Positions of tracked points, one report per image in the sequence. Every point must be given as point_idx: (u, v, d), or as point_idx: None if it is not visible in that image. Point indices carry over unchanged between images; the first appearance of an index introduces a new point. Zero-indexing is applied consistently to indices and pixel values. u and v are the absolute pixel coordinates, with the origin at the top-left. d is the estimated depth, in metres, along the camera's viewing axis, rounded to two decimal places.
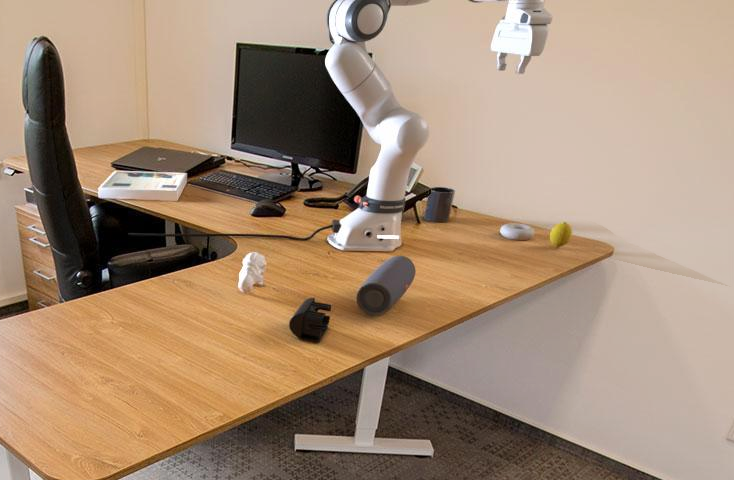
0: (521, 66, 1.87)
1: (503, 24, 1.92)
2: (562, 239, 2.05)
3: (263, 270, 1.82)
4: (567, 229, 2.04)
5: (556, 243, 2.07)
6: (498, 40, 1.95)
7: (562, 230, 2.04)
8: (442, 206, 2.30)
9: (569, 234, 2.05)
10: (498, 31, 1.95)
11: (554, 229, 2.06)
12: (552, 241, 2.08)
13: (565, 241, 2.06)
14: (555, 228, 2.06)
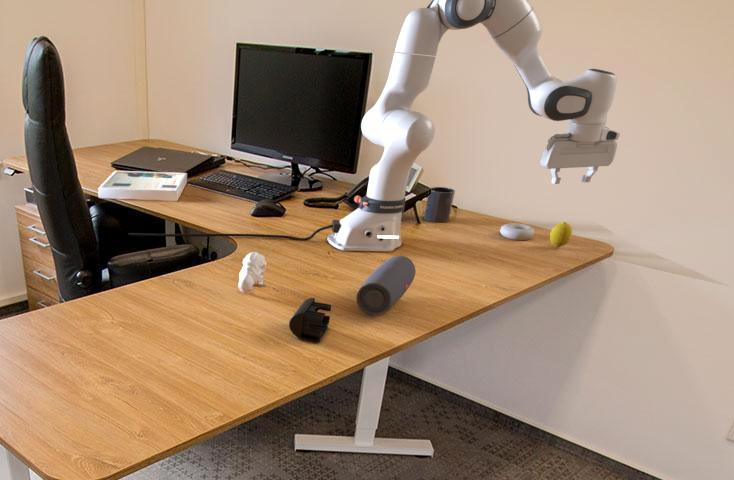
0: None
1: (567, 143, 1.92)
2: (562, 239, 2.05)
3: (263, 270, 1.82)
4: (567, 229, 2.04)
5: (556, 243, 2.07)
6: (560, 157, 1.94)
7: (562, 230, 2.04)
8: (442, 206, 2.30)
9: (569, 234, 2.05)
10: (559, 150, 1.93)
11: (554, 229, 2.06)
12: (552, 241, 2.08)
13: (565, 241, 2.06)
14: (555, 228, 2.06)
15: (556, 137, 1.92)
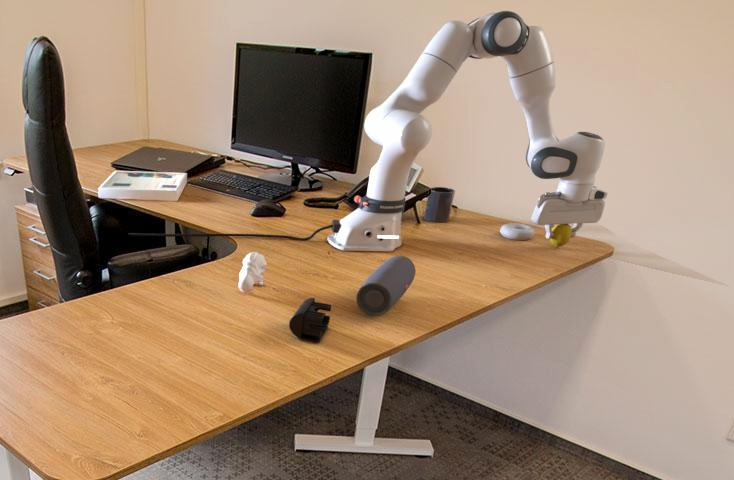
0: None
1: (556, 201, 2.00)
2: (562, 239, 2.05)
3: (263, 270, 1.82)
4: (567, 229, 2.04)
5: (556, 243, 2.07)
6: (550, 214, 2.02)
7: (562, 230, 2.04)
8: (442, 206, 2.30)
9: (569, 234, 2.05)
10: (549, 208, 2.01)
11: (554, 229, 2.06)
12: (552, 241, 2.08)
13: (565, 241, 2.06)
14: (555, 228, 2.06)
15: (546, 195, 2.00)
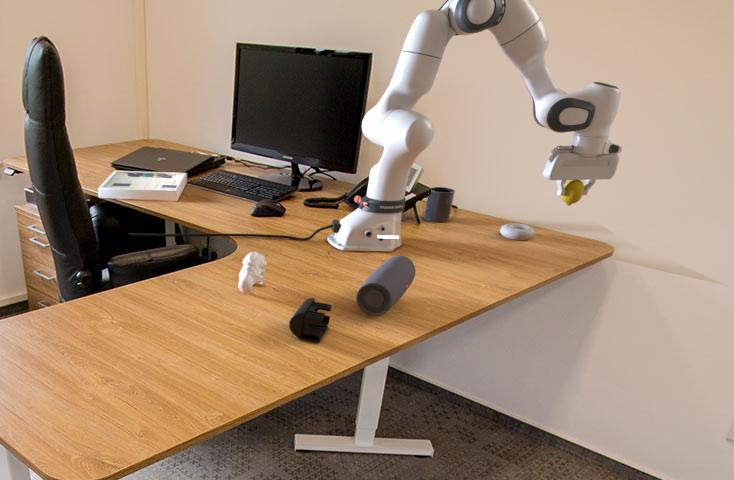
0: None
1: (569, 155, 1.93)
2: (574, 195, 1.99)
3: (263, 270, 1.82)
4: (579, 186, 1.98)
5: (568, 200, 2.00)
6: (562, 169, 1.95)
7: (574, 187, 1.98)
8: (442, 206, 2.30)
9: (581, 191, 1.98)
10: (561, 162, 1.94)
11: (566, 186, 2.00)
12: (564, 198, 2.01)
13: (577, 198, 1.99)
14: (567, 184, 1.99)
15: (559, 149, 1.93)
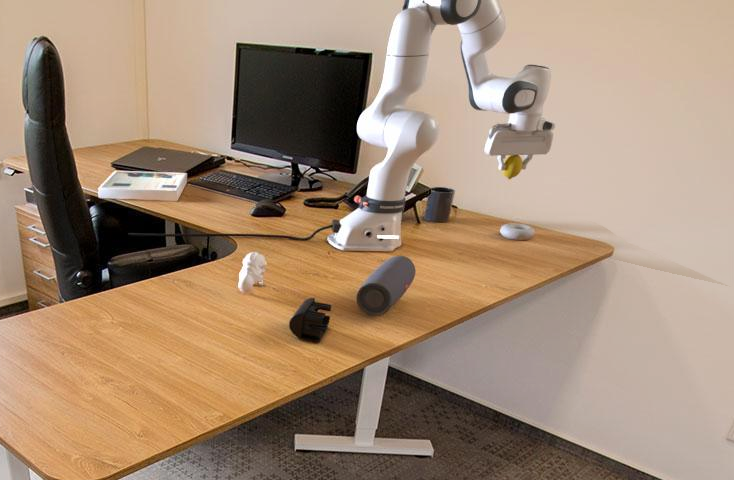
0: None
1: (507, 132, 2.10)
2: (513, 169, 2.16)
3: (263, 270, 1.82)
4: (518, 160, 2.15)
5: (508, 174, 2.17)
6: (501, 145, 2.12)
7: (513, 161, 2.15)
8: (442, 206, 2.30)
9: (520, 165, 2.15)
10: (500, 138, 2.11)
11: (506, 161, 2.17)
12: (504, 172, 2.18)
13: (516, 172, 2.16)
14: (507, 160, 2.16)
15: (497, 126, 2.10)
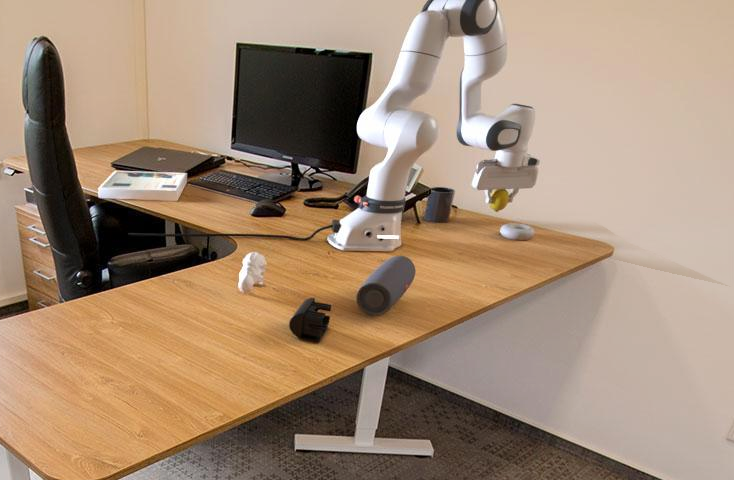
0: None
1: (493, 167, 2.17)
2: (500, 203, 2.23)
3: (263, 270, 1.82)
4: (504, 194, 2.22)
5: (495, 207, 2.25)
6: (488, 180, 2.19)
7: (500, 195, 2.22)
8: (442, 206, 2.30)
9: (506, 199, 2.22)
10: (486, 174, 2.18)
11: (493, 194, 2.24)
12: (491, 205, 2.25)
13: (503, 205, 2.23)
14: (494, 193, 2.24)
15: (484, 162, 2.18)
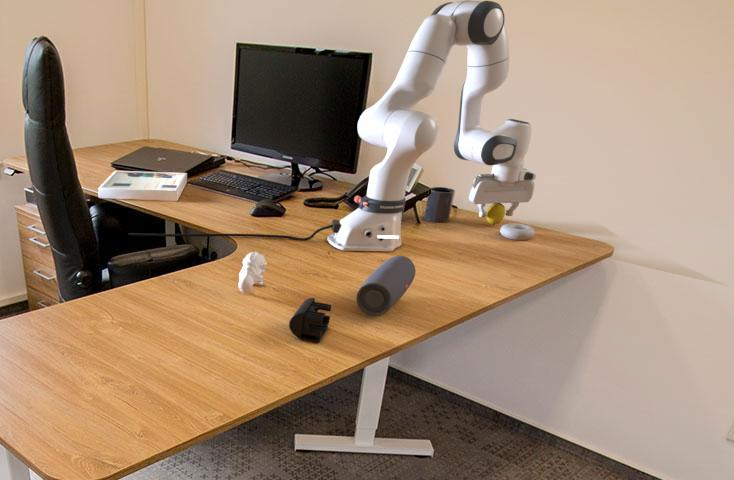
0: None
1: (490, 182, 2.20)
2: (496, 217, 2.25)
3: (263, 270, 1.82)
4: (500, 209, 2.24)
5: (491, 221, 2.27)
6: (485, 194, 2.21)
7: (496, 210, 2.24)
8: (442, 206, 2.30)
9: (502, 213, 2.25)
10: (483, 188, 2.20)
11: (489, 208, 2.26)
12: (488, 220, 2.28)
13: (499, 219, 2.26)
14: (490, 208, 2.26)
15: (481, 177, 2.20)
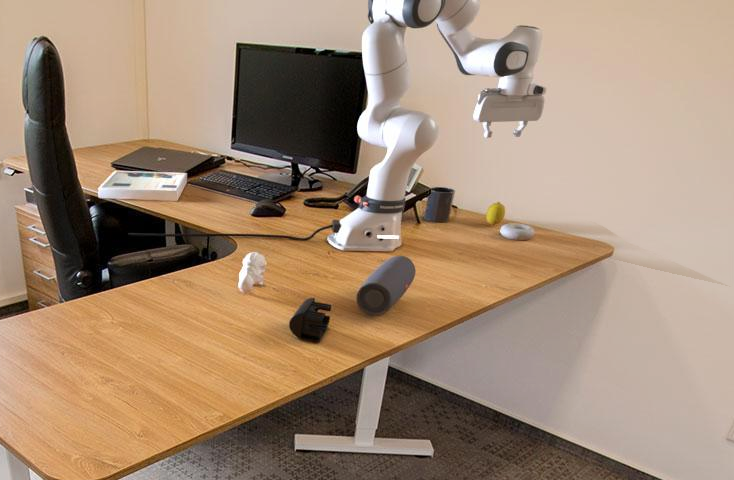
0: None
1: (496, 97, 2.02)
2: (496, 217, 2.25)
3: (263, 270, 1.82)
4: (500, 209, 2.24)
5: (491, 221, 2.27)
6: (490, 111, 2.04)
7: (496, 210, 2.24)
8: (442, 206, 2.30)
9: (502, 213, 2.25)
10: (489, 104, 2.03)
11: (489, 208, 2.26)
12: (488, 220, 2.28)
13: (499, 219, 2.26)
14: (490, 208, 2.26)
15: (486, 91, 2.03)
